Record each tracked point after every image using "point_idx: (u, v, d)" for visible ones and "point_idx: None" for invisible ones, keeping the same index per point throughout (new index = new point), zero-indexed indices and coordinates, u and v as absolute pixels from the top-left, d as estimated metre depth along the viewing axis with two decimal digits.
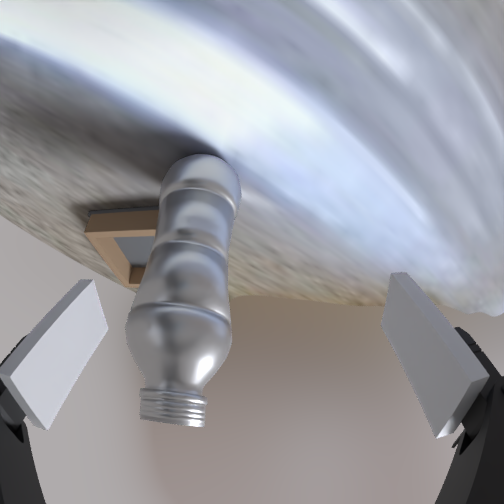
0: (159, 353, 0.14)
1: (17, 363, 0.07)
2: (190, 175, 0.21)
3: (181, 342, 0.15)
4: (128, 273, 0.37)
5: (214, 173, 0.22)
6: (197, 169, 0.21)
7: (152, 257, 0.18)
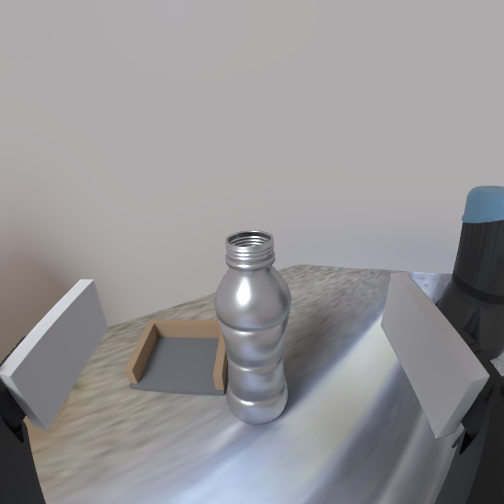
0: (282, 278, 0.24)
1: (17, 363, 0.07)
2: (286, 385, 0.29)
3: (284, 293, 0.23)
4: (160, 329, 0.42)
5: (282, 401, 0.27)
6: (287, 392, 0.29)
7: None
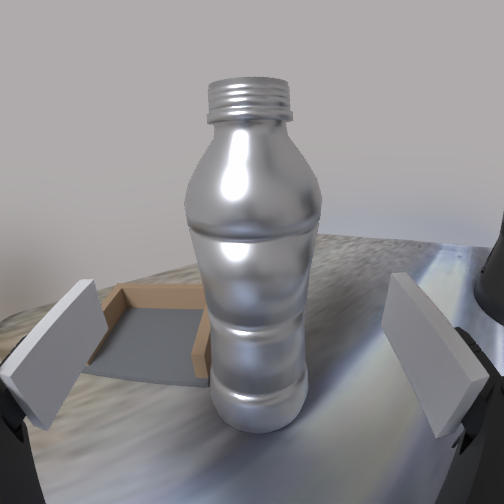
0: None
1: (17, 363, 0.07)
2: None
3: (310, 178, 0.12)
4: (129, 297, 0.31)
5: (301, 395, 0.17)
6: None
7: None
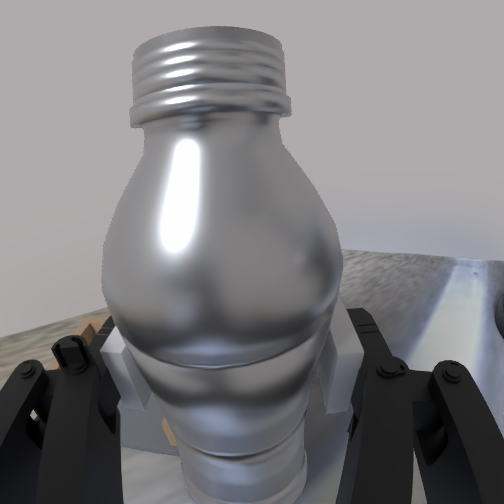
0: None
1: None
2: (306, 457, 0.12)
3: (325, 226, 0.07)
4: None
5: (298, 488, 0.11)
6: None
7: None
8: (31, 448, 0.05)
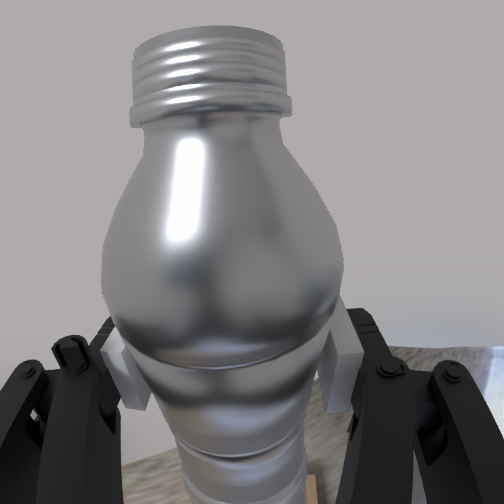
0: None
1: None
2: (306, 457, 0.12)
3: (326, 227, 0.07)
4: None
5: (298, 489, 0.11)
6: None
7: None
8: (31, 448, 0.05)
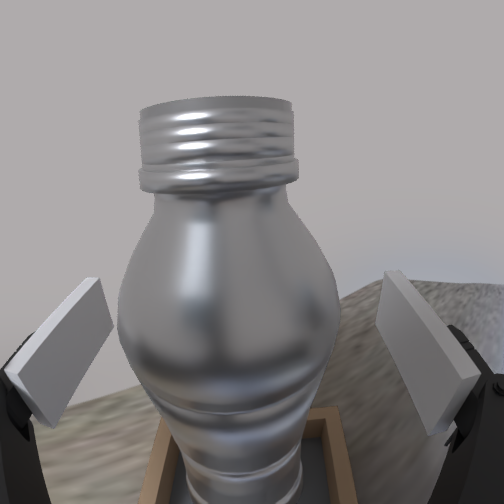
0: (316, 244, 0.08)
1: (24, 361, 0.07)
2: (302, 469, 0.13)
3: (325, 287, 0.07)
4: None
5: (294, 498, 0.11)
6: (302, 479, 0.12)
7: None
8: None
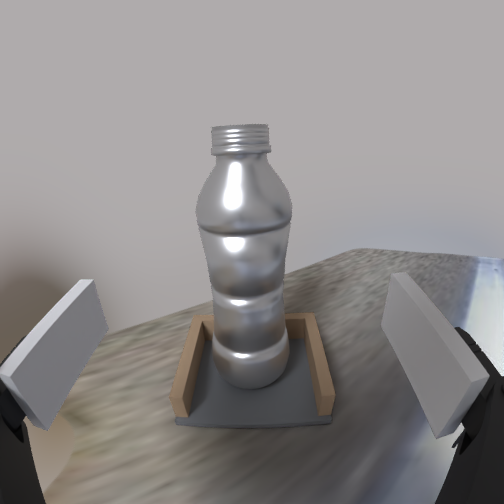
0: (280, 179, 0.19)
1: (17, 363, 0.07)
2: None
3: (283, 192, 0.18)
4: (210, 330, 0.29)
5: (283, 356, 0.22)
6: (288, 346, 0.24)
7: None
8: None
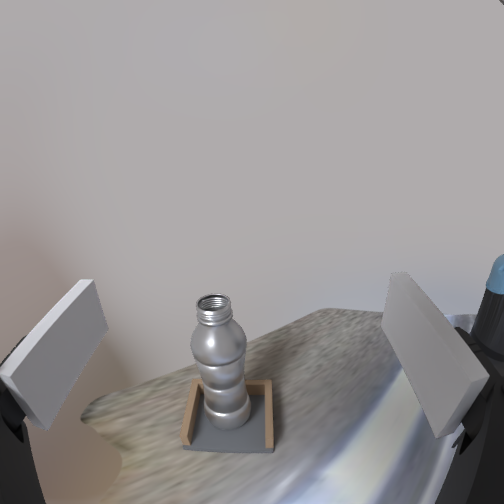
0: (239, 328, 0.32)
1: (17, 363, 0.07)
2: (249, 401, 0.37)
3: (239, 340, 0.31)
4: (203, 388, 0.42)
5: (245, 413, 0.35)
6: (250, 406, 0.36)
7: None
8: None
